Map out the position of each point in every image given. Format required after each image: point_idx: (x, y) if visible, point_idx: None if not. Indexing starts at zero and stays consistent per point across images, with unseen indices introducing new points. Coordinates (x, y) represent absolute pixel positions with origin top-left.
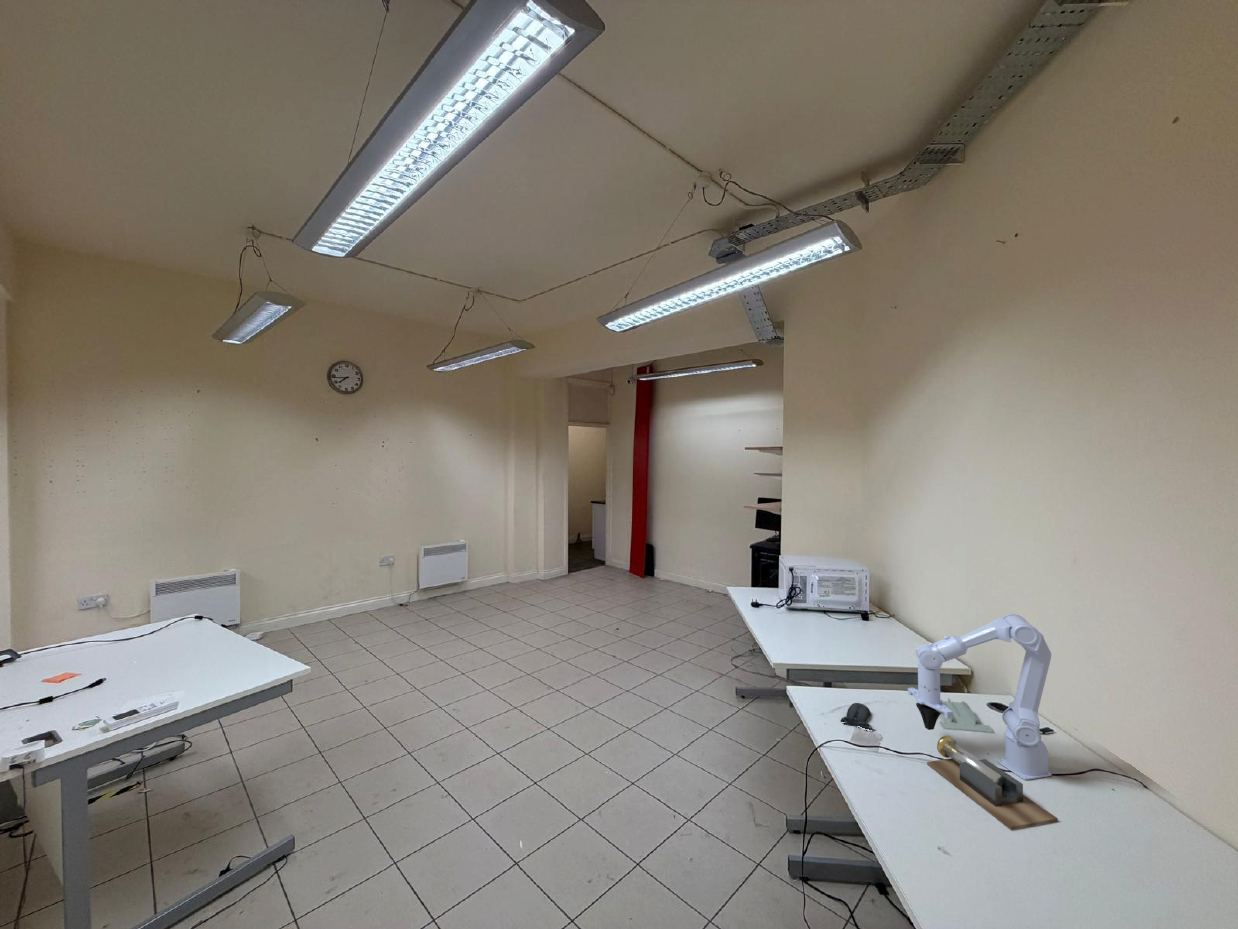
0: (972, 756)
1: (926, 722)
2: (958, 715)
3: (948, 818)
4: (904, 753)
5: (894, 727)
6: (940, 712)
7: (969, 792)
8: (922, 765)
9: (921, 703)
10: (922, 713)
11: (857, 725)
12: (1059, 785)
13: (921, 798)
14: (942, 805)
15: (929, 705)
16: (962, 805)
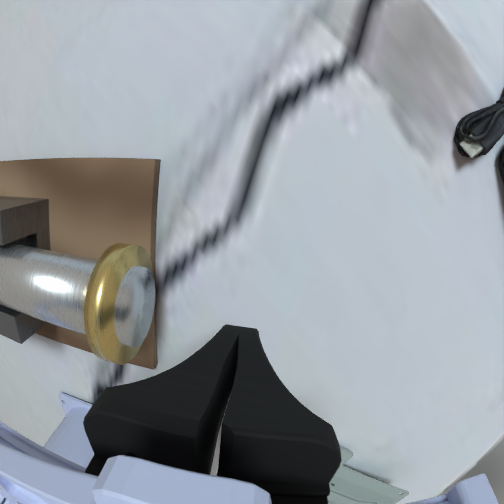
0: (2, 297)
1: (221, 346)
2: (331, 501)
3: (3, 39)
4: (265, 125)
5: (437, 278)
6: (38, 450)
7: (9, 171)
8: (164, 133)
9: (106, 471)
10: (247, 388)
11: (494, 106)
12: (56, 426)
13: (60, 7)
14: (23, 51)
15: (43, 477)
16: (5, 111)
